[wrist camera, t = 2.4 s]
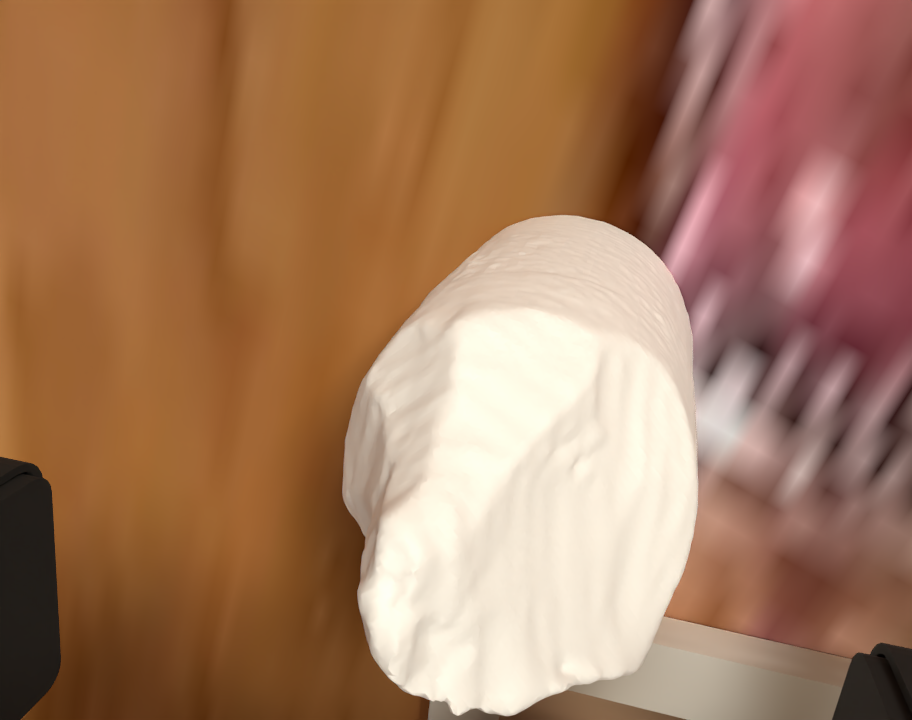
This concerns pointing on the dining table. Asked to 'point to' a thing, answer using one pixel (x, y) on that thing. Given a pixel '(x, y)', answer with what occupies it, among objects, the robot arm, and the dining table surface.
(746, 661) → the tower base
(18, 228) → the dining table surface
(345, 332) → the dining table surface
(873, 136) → the dining table surface
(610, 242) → the roll
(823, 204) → the dining table surface
